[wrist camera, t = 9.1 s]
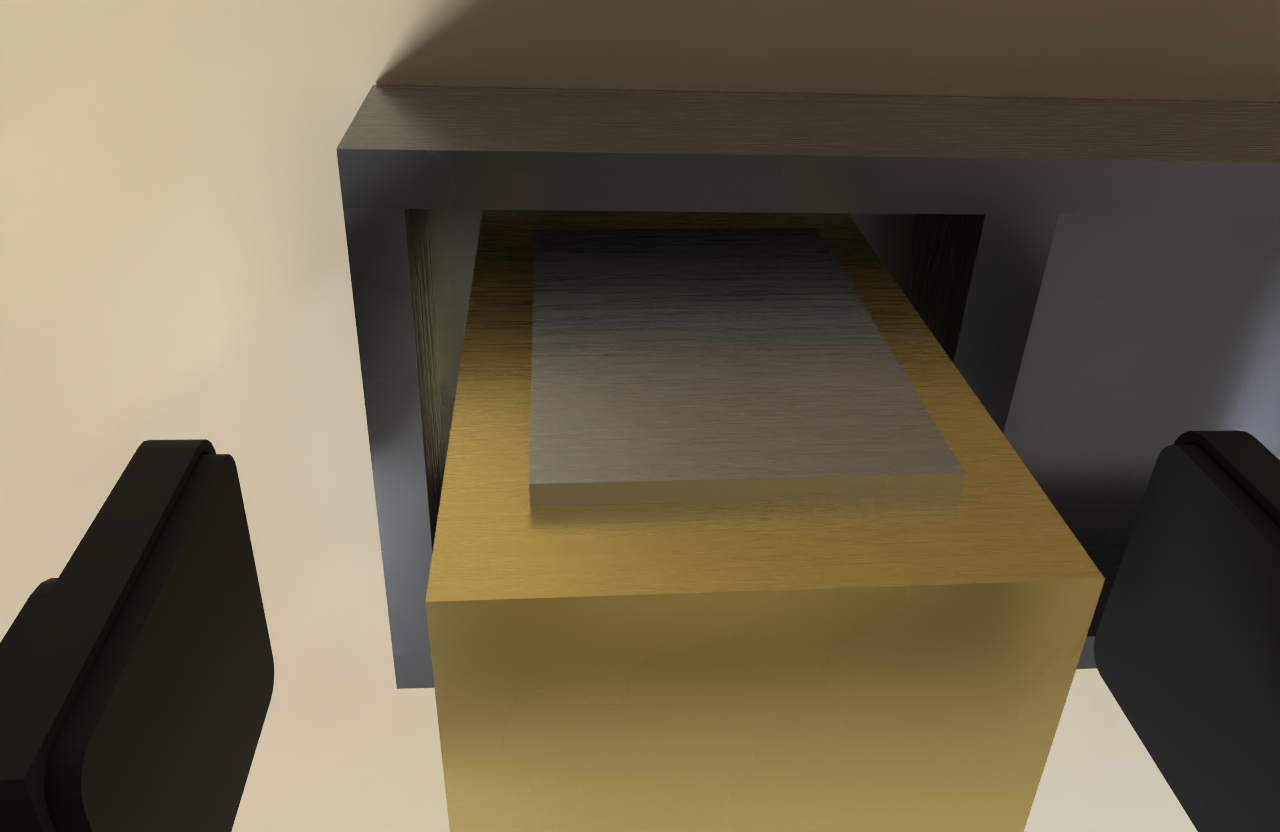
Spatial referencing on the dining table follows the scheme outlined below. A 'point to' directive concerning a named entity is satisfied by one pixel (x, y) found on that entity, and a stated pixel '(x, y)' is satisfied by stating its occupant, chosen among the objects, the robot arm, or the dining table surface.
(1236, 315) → the tray
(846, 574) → the gold block
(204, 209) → the dining table surface
